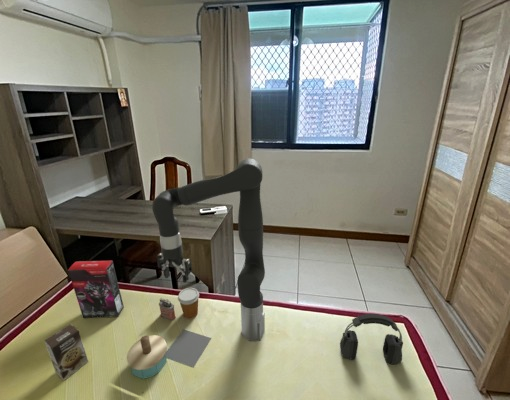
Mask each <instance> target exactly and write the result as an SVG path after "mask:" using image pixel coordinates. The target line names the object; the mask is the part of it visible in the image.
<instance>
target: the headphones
mask: <svg viewBox="0 0 510 400" xmlns="http://www.w3.org/2000/svg"><path fill="white" fill-rule="evenodd" d="M351 320H352V322H350V323H349V324H348V325H347V326H346V328H345V330H344V332H343V333H342V337H341V339H340V342H339V350H340V353H341V355H342V357H343V358H345V359H349V360H356V357H357V354H358V349H359V348H358V347H359V340H358V336H357V333H356V331H355V330H350V329H351V328H353V327H355V328H357V327H359V326H361V325H362V324H363V325H368V324H370V325H371V324H373V325H374V324H376V325H377V324H378V325H382V326H386V327H390V326H391V329H393V330H394V331H395V332H398V333H399V336H397V335H396V334H389V333H388V334H386V335H385V337H384V340H383V346H382V353H383V357H384V359H385V362H386V363H388V364H391V365H396V364H397V365H398V364H401V362H402V361H403V345H404V342H403V335H402V332H401V330H400V329H399V327H398V326H397V324H396V322H395V321H394V320H393V319H392V318H390V317H389V316H386V315H382V314H378V313H366V314H361V315H358V316H356V317H354V318H352V319H351Z"/></svg>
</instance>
